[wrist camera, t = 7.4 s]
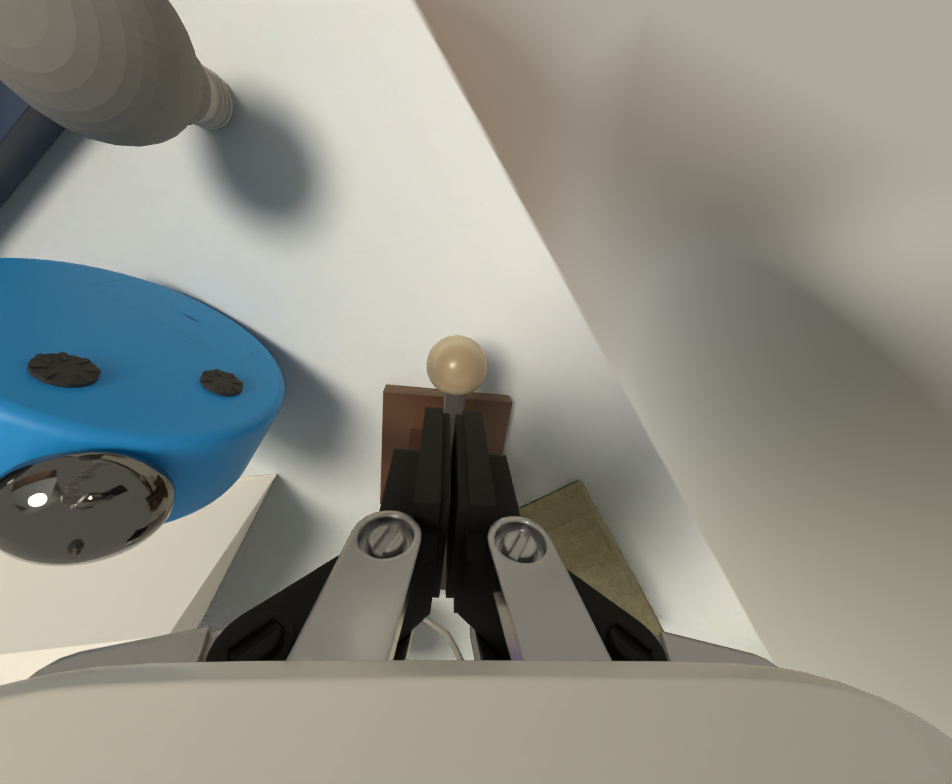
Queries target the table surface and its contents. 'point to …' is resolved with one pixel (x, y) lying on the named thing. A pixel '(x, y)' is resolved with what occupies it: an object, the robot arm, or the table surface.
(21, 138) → the switch box
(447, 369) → the lever
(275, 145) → the table surface
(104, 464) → the alarm clock
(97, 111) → the light bulb
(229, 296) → the table surface
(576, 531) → the tissue box
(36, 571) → the block
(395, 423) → the bracket
